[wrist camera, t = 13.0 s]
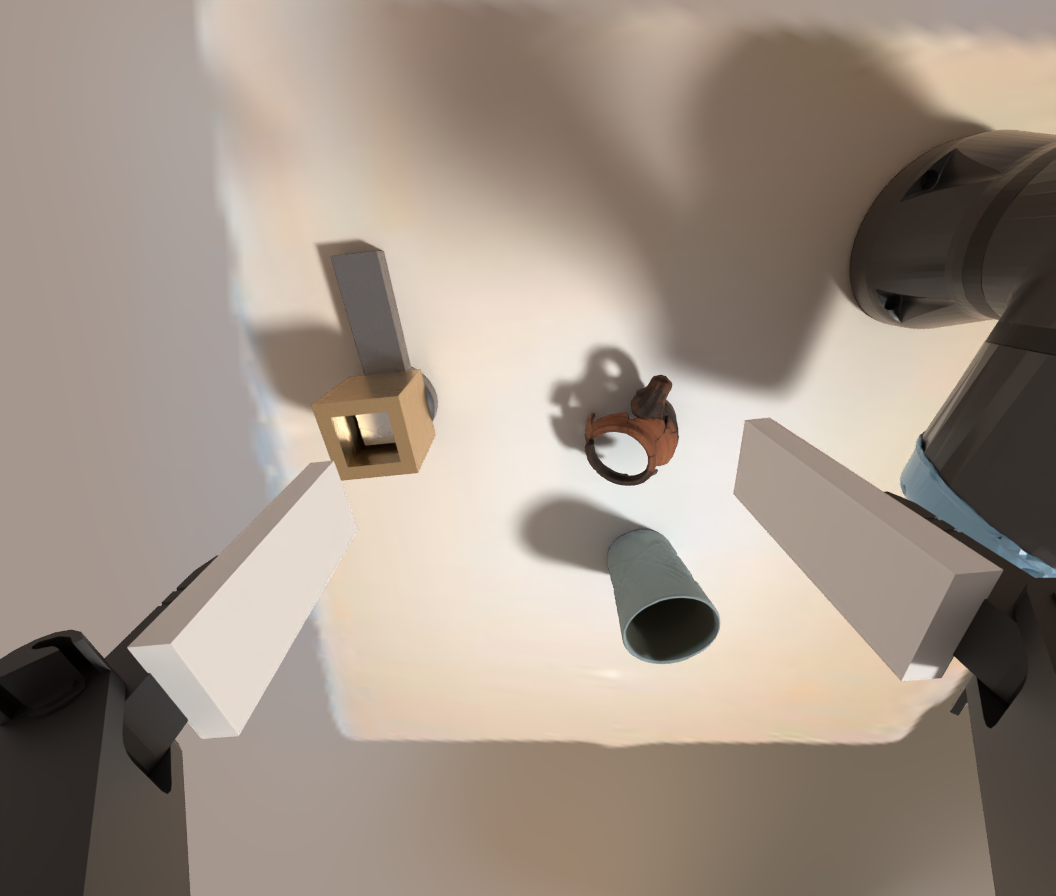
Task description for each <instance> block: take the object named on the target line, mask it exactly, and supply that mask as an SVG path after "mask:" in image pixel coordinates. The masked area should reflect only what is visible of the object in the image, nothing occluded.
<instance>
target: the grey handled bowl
mask: <svg viewBox="0 0 1056 896" xmlns="http://www.w3.org/2000/svg"><path fill="white" fill-rule="evenodd" d="M331 260H332V263H333V267H334V270H335V274H336V277H337V280H338V284H339V287H340V291H341V294H342V298H343V301H344V305H345V308H346V312H347V315H348V319H349V322H350V326H351V329H352V333H353V336H354V339H355V343H356V346H357V350H358V353H359V357H360V360H361V364H362V367H363V371H364V374H365V375H372V374H381V373H391V372H400V371H409V370H417V369H415V368H413V367H411V366H410V361H409V357H408V353H407V349H406V344H405V340H404V336H403V331H402V327H401V323H400V319H399V314H398V310H397V306H396V301H395V297H394V293H393V289H392V284H391V280H390V276H389V271H388V267H387V263H386V259H385V254H384V251H372V252H363V253H354V254H345V255H336V256H331ZM422 377H423V381H424V386H425V390H426V395H427V399H428V404H429V408H430V413H431V417H432V421H433V420H434V418H435V416H436V412H437V407H438V401H437V395H436V392H435V389H434V387H433V386H432V384H431V382H430V381H429V380H428V379H427V377H426V376H425V375H423V374H422ZM356 418H357V421H358V425H359V428H360V431H361V434H362V437H363V441H364V444H365V445H376V444H386V443H396V442H395V438H394V435H393V431H392V428H391V424H390V420H389V417H388V413H387V412H380V413H370V414H361V415H356Z"/></svg>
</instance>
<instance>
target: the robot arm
mask: <svg viewBox="0 0 1056 896" xmlns="http://www.w3.org/2000/svg"><path fill="white" fill-rule="evenodd" d="M850 277H851V285H852V289H853V293H854V295H855V298H856V300H857V302H858V303H859V305H860V306H861V308H862V309H863V310H864V311H865V312H866V313H867V314H868V315H869V316H871V317H872V318H874V319H876V320H877V321H880V322H882V323H885V324H889V325H895V326H900V327H905V328H913V329H930V328H938V327H945V326H951V325H958V324H965V323H972V322H978V321H985V320H992V319H997V320H999V321H998V323H997V324H996V326H995V327H994V329H993V330H992V332H991V333H990V335H989V337H988V338H987V340H986V341H985V342H984V343H983V345H982V346H981V348H980V350H979V351H978V353H977V354H976V356H975V357H974V359H973V360H972V362H971V363H970V365H969V367H968V368H967V370H966V371H965V373H964V374H963V376H962V377H961V379H960V380H959V382H958V384H957V385H956V387H955V388H954V390H953V391H952V393H951V394H950V396H949V397H948V399H947V400H946V402H945V403H944V405H943V406H942V408H941V409H940V410H939V412H938V413H937V415H936V416H935V418H934V419H933V421H932V422H931V424H930V425H929V427H928V428H927V430H926V431H925V432H923V433H922V434H921V435H920V436H919V437H918V439H917V441H916V448H915V450H914V452H913V454H912V456H911V458H910V459H909V461H908V463H907V464H906V466H905V468H904V470H903V472H902V474H901V478H900V486H901V489H902V491H903V494H904V495H905V497H906V499H905V498H902V497H900V496H897V495H895V494H892V493H890V492H883V491H881V490H880V489H878V488H877V487H875V486H874V485H872V484H871V483H869V482H868V481H866V480H864V479H863V478H861V477H860V476H858V475H857V474H855V473H854V472H852V471H851V470H849V469H848V468H846V467H844V466H843V465H841V464H840V463H838V462H837V461H835V460H834V459H832V458H831V457H829V456H828V455H826V454H825V453H823V452H821V451H820V450H818V449H817V448H815V447H814V446H812V445H811V444H809V443H808V442H806V441H805V440H803V439H802V438H800V437H798V436H797V435H795V434H794V433H792V432H791V431H789V430H788V429H786V428H785V427H783V426H782V425H780V424H778V423H777V422H775V421H774V420H772V419H771V418H762V419H752V420H745V424H744V430H743V436H742V443H741V449H740V456H739V462H738V468H737V475H736V481H735V487H734V495H735V496H736V497H737V499H738V500H739V501H740V502H741V503H742V504H743V505H744V506H745V507H746V509H747V510H748V511H749V512H750V513H751V514H752V515H753V516H754V517H755V519H756V520H757V521H758V522H759V523H760V524H761V525H762V526H763V528H764V529H765V530H766V531H767V532H768V533H769V534H770V535H771V536H772V538H773V539H774V540H775V541H776V542H777V543H778V544H779V545H780V547H781V548H782V549H783V550H784V551H785V552H786V553H787V554H788V555H789V557H790V558H791V559H792V560H793V561H794V562H795V563H796V564H797V565H798V567H799V568H800V569H801V570H802V571H803V572H804V573H805V574H806V576H807V577H808V578H809V579H810V580H811V581H812V582H813V583H814V584H815V586H816V587H817V588H818V589H819V590H820V591H821V592H822V593H823V594H824V596H825V597H826V598H827V599H828V600H829V601H830V602H831V603H832V605H833V606H834V607H835V608H836V609H837V610H838V611H839V612H840V613H841V615H842V616H843V617H844V618H845V619H846V620H847V621H848V622H849V623H850V625H851V626H852V627H853V628H854V629H855V630H856V631H857V632H858V634H859V635H860V636H861V637H862V638H863V639H864V640H865V641H866V642H867V644H868V645H869V646H870V647H871V648H872V649H873V650H874V651H875V652H876V654H877V655H878V656H879V657H880V658H881V659H882V660H883V661H884V663H885V664H886V665H887V666H888V667H889V668H890V669H891V670H892V671H893V673H894V674H895V675H896V676H897V677H898V678H899V679H900V680H901V681H910V680H922V679H934V678H942V676H943V675H944V673H945V671H946V669H947V668H948V666H949V664H950V662H951V661H952V659H953V657H954V656H955V657H956V658H957V659H958V660H959V661H960V662H961V663H962V664H963V665H964V666H965V667H967V668H968V669H969V670H970V671H971V674H970V676H969V677H968V679H967V680H966V682H965V684H964V685H963V687H962V689H961V690H960V692H959V693H958V695H957V697H956V698H955V700H954V701H953V703H952V706H951V710H950V712H951V713H954V714H956V715H959V714H960V712H961V711H962V709H963V708H964V706H967V705H968V708H969V714H970V721H971V728H972V735H973V742H974V749H975V756H976V762H977V770H978V777H979V783H980V791H981V797H982V804H983V811H984V818H985V825H986V832H987V839H988V846H989V853H990V860H991V867H992V873H993V880H994V886H995V894H996V896H1056V135H1051V134H1043V133H1034V132H1026V131H1018V130H997V131H989V132H984V133H980V134H976V135H972V136H968V137H964V138H960V139H957V140H953V141H950V142H947V143H945V144H942V145H940V146H938V147H936V148H934V149H932V150H930V151H928V152H927V153H925V154H923V155H922V156H920V157H919V158H917V159H916V160H915V161H913V162H912V163H911V164H909V165H908V166H907V167H906V168H905V169H903V170H902V171H901V172H900V173H899V174H898V175H897V176H896V177H895V178H894V179H893V180H892V181H891V182H890V183H889V184H888V185H887V186H886V188H885V189H884V190H883V191H882V192H881V194H880V195H879V196H878V198H877V199H876V201H875V202H874V204H873V205H872V207H871V208H870V210H869V212H868V213H867V215H866V217H865V219H864V221H863V223H862V225H861V227H860V229H859V232H858V234H857V237H856V240H855V244H854V247H853V252H852V257H851V266H850ZM357 531H358V527H357V524H356V521H355V518H354V516H353V513H352V510H351V507H350V504H349V502H348V499H347V496H346V493H345V491H344V488H343V485H342V482H341V479H340V477H339V474H338V471H337V468H336V466H335V463H334V461H326V462H316V463H310V464H309V465H308V466H307V467H306V468H305V469H304V470H303V471H302V472H301V473H300V474H299V475H298V476H297V477H296V478H295V479H294V480H293V481H292V482H291V483H290V484H289V485H288V486H287V487H286V488H285V489H284V490H283V491H282V492H281V493H280V494H279V495H278V496H277V497H276V498H275V499H274V500H273V501H272V502H271V503H270V504H269V505H268V506H267V507H266V508H265V509H264V510H263V511H262V512H261V513H260V514H259V515H258V516H257V517H256V518H255V519H254V520H253V522H251V523H250V524H249V526H247V527H246V528H245V530H243V531H242V532H241V534H239V535H238V536H237V537H236V539H234V540H233V541H232V542H231V544H230V545H228V546H227V547H226V548H225V550H223V551H222V552H221V554H220V555H218V556H216V557H214V558H213V559H211V560H210V561H208V562H207V563H205V564H204V565H202V566H201V567H199V568H198V569H196V570H195V571H194V572H193V573H192V574H191V575H189V576H188V578H186V579H185V580H184V581H183V582H182V583H181V584H180V585H179V586H178V587H177V591H175V592H172V593H171V594H170V595H169V596H168V597H167V598H166V599H165V600H164V601H163V602H162V606H158V607H157V608H156V609H155V610H154V611H153V612H152V613H151V614H150V615H149V616H148V617H147V618H146V619H144V620H143V621H142V622H141V623H140V624H139V625H138V626H137V627H136V628H135V629H134V630H133V631H132V632H131V634H129V635H128V636H127V637H126V638H125V639H124V640H123V641H122V642H121V643H120V644H119V645H118V646H117V647H116V648H115V649H114V650H113V651H112V652H111V653H110V654H109V655H108V656H107V657H106V658H105V659H104V658H103V657H102V655H100V653H99V652H98V651H97V650H96V649H95V647H94V646H93V645H92V644H91V643H90V642H89V641H88V639H87V638H86V637H85V636H84V635H83V634H82V633H81V632H79V631H75V630H67V631H61V632H55V633H52V634H50V635H47V636H44V637H41V638H39V639H36V640H34V641H32V642H30V643H28V644H26V645H24V646H22V647H20V648H18V649H16V650H14V651H12V652H11V653H9V654H8V655H6V656H5V657H3V658H2V659H0V896H190V882H189V865H188V846H187V829H186V811H185V795H184V776H183V760H182V759H183V758H182V750H181V748H180V746H179V744H178V743H177V741H176V740H175V738H176V737H177V736H178V734H179V733H180V731H181V730H182V729H183V727H184V725H185V724H186V723H187V722H188V723H189V724H190V725H191V727H192V728H193V729H194V730H195V731H196V732H197V734H198V735H199V736H200V737H201V739H206V738H218V737H231V736H239V734H240V732H241V731H242V729H243V728H244V726H245V724H246V722H247V721H248V719H249V717H250V715H251V714H252V712H253V710H254V709H255V707H256V705H257V703H258V701H259V700H260V698H261V697H262V695H263V693H264V691H265V690H266V688H267V686H268V684H269V683H270V681H271V679H272V678H273V676H274V674H275V672H276V671H277V669H278V667H279V666H280V664H281V662H282V660H283V659H284V657H285V655H286V653H287V652H288V650H289V648H290V646H291V645H292V643H293V641H294V640H295V638H296V636H297V634H298V633H299V631H300V629H301V628H302V626H303V624H304V622H305V621H306V619H307V617H308V616H309V614H310V612H311V610H312V609H313V607H314V605H315V603H316V602H317V600H318V598H319V597H320V595H321V593H322V591H323V590H324V588H325V586H326V584H327V583H328V581H329V579H330V578H331V576H332V574H333V572H334V571H335V569H336V567H337V566H338V564H339V562H340V560H341V559H342V557H343V555H344V553H345V552H346V550H347V548H348V547H349V545H350V543H351V541H352V540H353V538H354V536H355V534H356V533H357Z"/></svg>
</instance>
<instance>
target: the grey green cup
mask: <svg viewBox="0 0 1056 896" xmlns="http://www.w3.org/2000/svg"><path fill="white" fill-rule="evenodd" d="M607 564H608V569H609V572H610V576H611V581H612V584H613V588H614V595H615V600H616V606H617V612H618V616H619V623H620V628H621V634H622V639H623V643H624V646H625V648H626V649H627V650H628V651H629V652H630V653H631V654H632V655H633V656H635V657H636V658H638V659H640V660H642V661H645V662H649V663H656V664H670V663H675V662H680V661H683V660H686V659H688V658H690V657H692V656H694V655H696V654H698V653H700V652H702V651H703V650H705V649H706V648H707V647H708V646H710V644H711V643H712V642H713V641H714V639H715V638H716V636H717V634H718V632H719V629H720V617H719V614H718V611H717V610H716V608H715V607H714V605H713V604H712V603H711V601H710V600H709V598H708V597H707V596H706V594H705V593H704V591H703V590H702V589H701V587H700V586H699V584H698V583H697V582H696V581H694V579H693V577H692V574H691V573H690V571H689V570H688V569H687V567H686V566H685V565H684V563H683V562H682V560H681V559H680V558H679V557H678V556H677V552H676V551H675V549H674V548H673V547H672V545H671V544H670V542H669V541H668V540H667V539H666V538H665V537H664V536H663V535H661V534H660V533H658V532H656V531H652V530H644V529H643V530H635V531H631V532H628V533H626V534H624V535H622V536H620V537H619V538H618V539H617V540H616V541H615V542H613V544H612V545H611V546H610V550H609V551H608V555H607Z"/></svg>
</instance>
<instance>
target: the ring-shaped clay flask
mask: <svg viewBox="0 0 1056 896" xmlns="http://www.w3.org/2000/svg"><path fill="white" fill-rule="evenodd" d="M671 388H672V382H671V381H670V380H669V379H668V378H667V377H666V376H663V375H658V376H654V377H652V379H651V381H650V383H649V384H648V386H647V387H645V388H643V389H639V390H637V393H636V396H635V397H634V398H633V400H632V401H631V410H632V413H633V414H634V415H635V416H637V418H634V419H629V416H628V413H627V412H624V413H618V414H611V415H608V416H606V417H602V418H600V419H598V420H596V421H595V422H594V421H593V420H594V417H595V414H594V413H591V415H590V417H589V419H588V422H587V425H586V430H585V431H586V433H585V439H586V445H585V452H586V455H587V459H588V461H589V463H590V465H591V466H592V467H593V469H594V470H596V472H597V473H598V474H599V475H600V476H602V477H604V478H605V479H606V480H608V481H610V482H612V483H615V484H619V485H625V486H631V485H638V484H641V483H644V482H645V481H646V480H648V479H649V478H650V477H651V476H653V475H655V474H656V473H657V471H658V470H657V469H655V467H656V466H661V465H665V464H667V463H668V462H669V461H670V459H671V458H672V457H673V455H674V452H675V449H676V447H677V444H678V439H679V436H678V426H677V421H676V414H675V411H674V409H673V407H672V405H671V404H670V403H669V402H668V401H667V400H666V398H667V396H668V394H669V392H670V390H671ZM663 416H664V417H665V418H664V420H663V419H662V417H663ZM607 432H619V433H625V434H628V435H630V436H631V437H633V438H634V439H636V440H637V441H638V442H639V443H640V444H641V445H642V446H643V447H644V449H645V451H646V453H647V456H648V465H647V468H646V470H645V471H643V472H642V473H640V474H638V475H633V476H628V474H621V473H618V472H615V471H613V470H612V469H610V468H608V467H607V466H605V465H604V464H603V463H602V462H601V461H600V459H599V458H598V457H597V455H596V453H595V449H594V437H596V438H597V437H599V436H600V435H602V434H604V433H607Z"/></svg>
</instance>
